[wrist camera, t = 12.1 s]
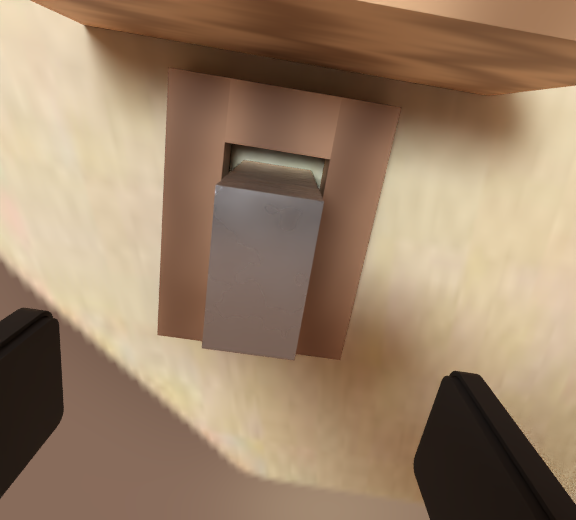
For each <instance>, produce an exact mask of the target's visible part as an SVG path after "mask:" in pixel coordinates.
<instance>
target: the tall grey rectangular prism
mask: <svg viewBox="0 0 576 520" xmlns="http://www.w3.org/2000/svg"><path fill="white" fill-rule="evenodd" d="M323 204H324V200H323V198H322V195H321V193H320V191H319V188H318V186H317V183H316V181H315V179H314V176H313V174H312V171H311V170H305V169H298V168H292V167H285V166H279V165H272V164H266V163H260V162H253V161H247V160H243V161H242V162H241V163H240V164H239V165H238V166H237V167H235V168H234V169H233V170H232V171H231V172H230V173H229V174H227V175H226V176H225V177H224V178H223V179H222V180H221V181H220V182H218V183H217V184H216V185H215V197H214V209H213V221H212V233H211V245H210V257H209V269H208V281H207V293H206V304H205V316H204V328H203V340H202V348H204V349H212V350H220V351H227V352H235V353H243V354H250V355H258V356H265V357H273V358H281V359H288V360H295V354H296V349H297V344H298V338H299V333H300V328H301V322H302V317H303V312H304V306H305V301H306V295H307V290H308V285H309V279H310V274H311V269H312V263H313V258H314V253H315V247H316V242H317V236H318V231H319V226H320V220H321V215H322V210H323Z"/></svg>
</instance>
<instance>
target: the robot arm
mask: <svg viewBox="0 0 576 520" xmlns="http://www.w3.org/2000/svg"><path fill="white" fill-rule="evenodd" d="M62 389H63V388H62V370H61V352H60V334H59V322H58V320H57V319H55V318H53V316H52V314H51V313H50V312H49V311H43V310H36V309H30V308H21V309H18V310H16V311H15V312H13V313H12V314H11V315H9V316H7V317H6V318H4V319H3V320H1V321H0V498H1V496H3V494H4V493H5V492H6V490H7V489H8V488H9V487H10V485H11V484H12V483H13V482H14V480H15V479H16V478H17V477H18V475H19V474H20V473H21V472H22V470H23V469H24V468H25V467H26V465H27V464H28V463H29V461H30V460H31V459H32V458H33V456H34V455H35V454H36V452H37V451H38V450H39V448H41V446H42V445H43V444H44V443H45V441H46V440H47V439H48V437H49V436H50V435H51V434H52V432H53V431H54V430H55V429H56V427H57V426H58V424H59V423H60V421H61V419H62V416H63V410H64V409H63V408H64V406H63V390H62ZM414 473H415V477H416V479H417V482H418V485H419V488H420V491H421V494H422V497H423V500H424V503H425V506H426V508H427V512H428V515H429V518H430V520H576V504H575V503H574V502H573V500H572V499H571V498H570V496H569V495H568V494H567V492H566V491H565V489H564V488H563V487H562V485H561V484H560V483H559V481H558V480H557V479H556V477H555V476H554V475H553V473H552V472H551V470H550V469H549V468H548V466H547V465H546V464H545V462H544V461H543V460H542V458H541V457H540V456H539V454H538V453H537V451H536V450H535V449H534V447H533V446H532V445H531V443H530V442H529V441H528V439H527V438H526V437H525V435H524V434H523V432H522V431H521V430H520V428H519V427H518V426H517V424H516V423H515V422H514V420H513V419H512V418H511V416H510V415H509V413H508V412H507V411H506V409H505V408H504V407H503V405H502V404H501V403H500V401H499V400H498V399H497V397H496V396H495V395H494V393H493V392H492V390H491V389H490V388H489V386H488V385H487V384H486V382H485V381H484V380H483V378H482V377H481V376H480V375H478V374H473V373H467V372H460V371H453V372H452V373H451V374H450V375H449V376H445V377H444V378H443V379H442V381H441V384H440V387H439V390H438V393H437V396H436V398H435V401H434V404H433V407H432V410H431V412H430V415H429V418H428V421H427V424H426V426H425V429H424V432H423V435H422V438H421V441H420V443H419V446H418V449H417V452H416V455H415V458H414Z"/></svg>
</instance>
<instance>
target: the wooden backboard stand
mask: <svg viewBox="0 0 576 520" xmlns="http://www.w3.org/2000/svg"><path fill="white" fill-rule="evenodd" d="M31 1H33V2H35V3H37V4H40V5H42V6H44V7H46V8H48V9H50V10H53V11H55V12H57V13H59V14H61V15H63V16H66V17H68V18H70V19H72V20H74V21H77V22H79V23H81V24H83V25H88V26H94V27H99V28H105V29H111V30H116V31H122V32H128V33H134V34H139V35H145V36H151V37H156V38H162V39H168V40H173V41H179V42H185V43H190V44H196V45H202V46H208V47H213V48H219V49H225V50H230V51H236V52H242V53H247V54H253V55H259V56H265V57H270V58H276V59H282V60H287V61H293V62H299V63H304V64H310V65H316V66H322V67H327V68H333V69H339V70H344V71H350V72H356V73H361V74H367V75H373V76H379V77H384V78H390V79H396V80H401V81H407V82H413V83H418V84H424V85H430V86H435V87H441V88H447V89H453V90H458V91H464V92H470V93H475V94H481V95H487V96H491V95H499V94H508V93H516V92H524V91H533V90H541V89H549V88H558V87H566V86H575V85H576V0H31ZM400 111H401V107H396V106H390V105H384V104H378V103H372V102H366V101H361V100H355V99H349V98H343V97H337V96H332V95H326V94H320V93H314V92H308V91H302V90H297V89H291V88H285V87H279V86H273V85H268V84H262V83H256V82H250V81H244V80H238V79H233V78H227V77H221V76H215V75H209V74H204V73H198V72H192V71H186V70H180V69H174V68H169V72H168V96H167V120H166V144H165V167H164V191H163V215H162V239H161V263H160V286H159V310H158V334H157V335H161V336H169V337H176V338H183V339H191V340H198V341H202V340H203V328H204V316H205V304H206V293H207V281H208V269H209V257H210V245H211V233H212V221H213V209H214V197H215V185H216V184H217V183H218V182H220V181H221V180H222V179H223V178H224V177H225V176H226V175H227V174H228V173H229V163H230V153H231V143H233V144H239V145H245V146H252V147H258V148H264V149H270V150H276V151H282V152H288V153H294V154H301V155H307V156H313V157H319V158H325V163H324V168H323V174H322V179H321V184H320V190H319V191H320V193H321V195H322V198H323V200H324V204H323V210H322V215H321V220H320V226H319V231H318V236H317V242H316V247H315V253H314V258H313V263H312V269H311V274H310V279H309V285H308V290H307V295H306V301H305V306H304V312H303V317H302V322H301V328H300V333H299V338H298V344H297V349H296V354H301V355H308V356H315V357H323V358H330V359H337V360H340V358H341V354H342V350H343V346H344V342H345V337H346V333H347V329H348V325H349V321H350V317H351V313H352V309H353V305H354V300H355V296H356V292H357V288H358V284H359V280H360V276H361V272H362V268H363V263H364V259H365V255H366V251H367V247H368V243H369V239H370V235H371V230H372V226H373V222H374V218H375V214H376V210H377V206H378V202H379V198H380V193H381V189H382V185H383V181H384V177H385V173H386V169H387V165H388V160H389V156H390V152H391V148H392V144H393V140H394V136H395V132H396V128H397V123H398V119H399V115H400Z"/></svg>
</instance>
